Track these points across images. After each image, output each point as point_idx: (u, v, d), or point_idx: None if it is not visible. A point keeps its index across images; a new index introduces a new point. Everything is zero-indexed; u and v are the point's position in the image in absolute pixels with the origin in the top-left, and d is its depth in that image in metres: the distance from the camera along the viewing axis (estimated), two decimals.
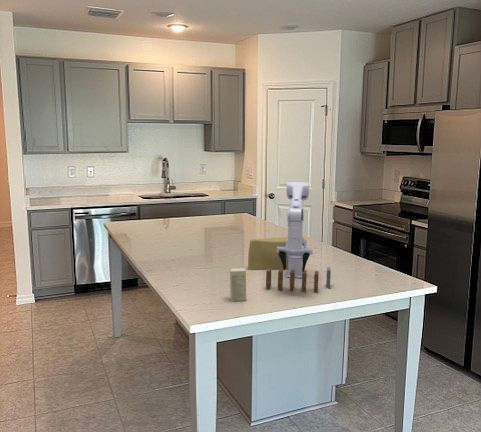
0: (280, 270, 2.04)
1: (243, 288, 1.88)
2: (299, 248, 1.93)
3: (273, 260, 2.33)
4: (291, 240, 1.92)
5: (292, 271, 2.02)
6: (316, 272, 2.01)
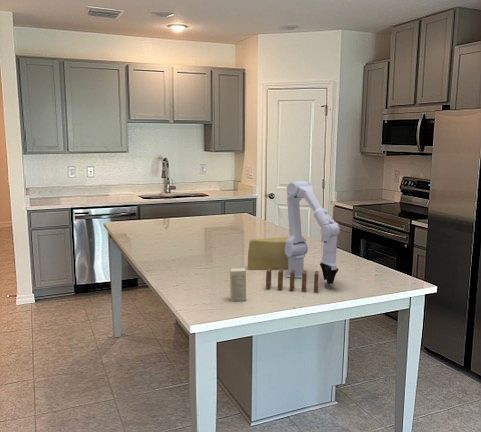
0: (280, 270, 2.04)
1: (243, 288, 1.88)
2: (326, 261, 2.04)
3: (272, 260, 2.33)
4: None
5: (292, 271, 2.02)
6: (316, 272, 2.01)
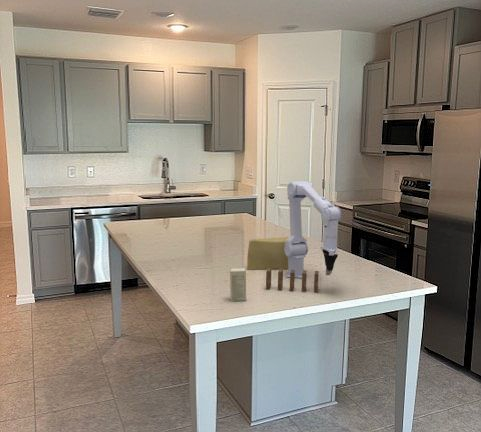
0: (280, 270, 2.04)
1: (243, 288, 1.88)
2: (326, 246, 1.97)
3: (272, 260, 2.33)
4: None
5: (292, 271, 2.02)
6: (316, 272, 2.01)
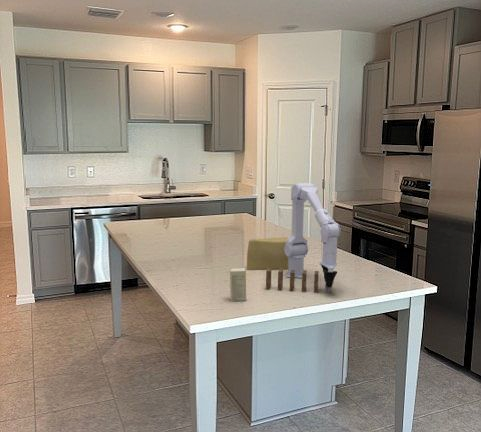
0: (280, 270, 2.04)
1: (243, 288, 1.88)
2: (325, 262, 1.97)
3: (272, 260, 2.33)
4: None
5: (292, 271, 2.02)
6: (316, 272, 2.01)
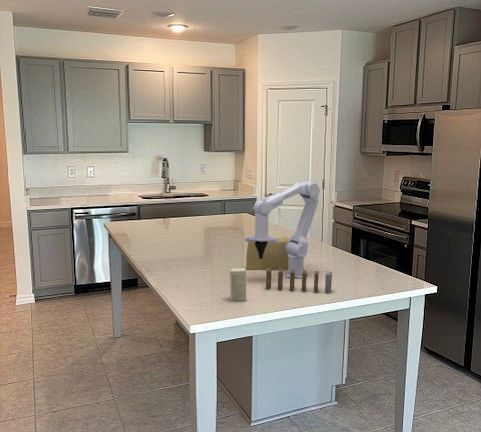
0: (280, 270, 2.04)
1: (243, 288, 1.88)
2: (265, 237, 2.10)
3: (271, 260, 2.33)
4: (258, 230, 2.09)
5: (292, 271, 2.02)
6: (316, 272, 2.01)
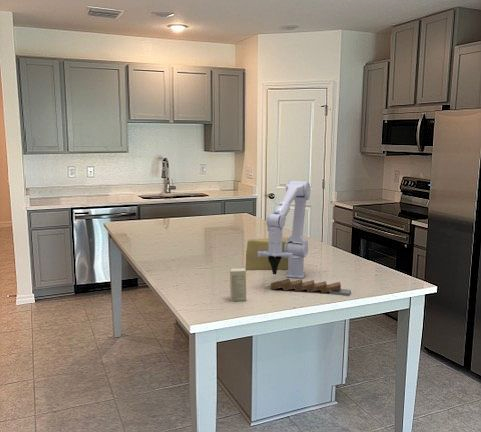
0: (301, 282, 2.03)
1: (243, 288, 1.88)
2: (279, 252, 2.01)
3: None
4: (272, 245, 2.00)
5: (313, 283, 2.01)
6: (340, 285, 2.00)
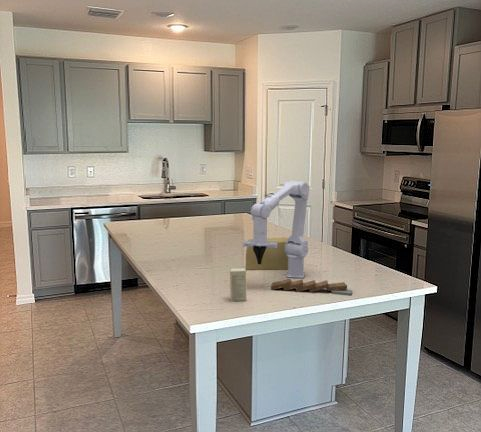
0: (302, 282, 2.03)
1: (243, 288, 1.88)
2: (264, 242, 2.01)
3: (270, 260, 2.32)
4: (256, 234, 2.00)
5: (315, 284, 2.01)
6: None
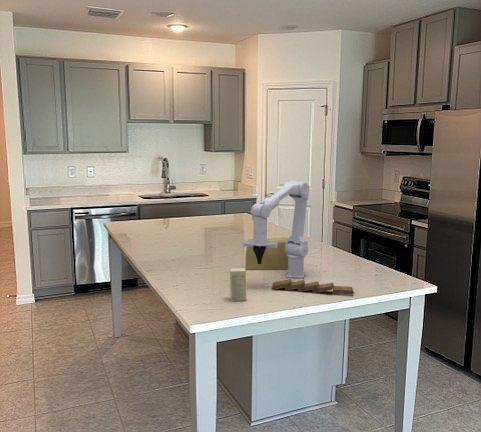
0: (304, 283, 2.03)
1: (243, 288, 1.88)
2: (264, 242, 2.01)
3: (270, 260, 2.32)
4: (256, 234, 2.00)
5: (317, 285, 2.00)
6: (352, 290, 1.99)
